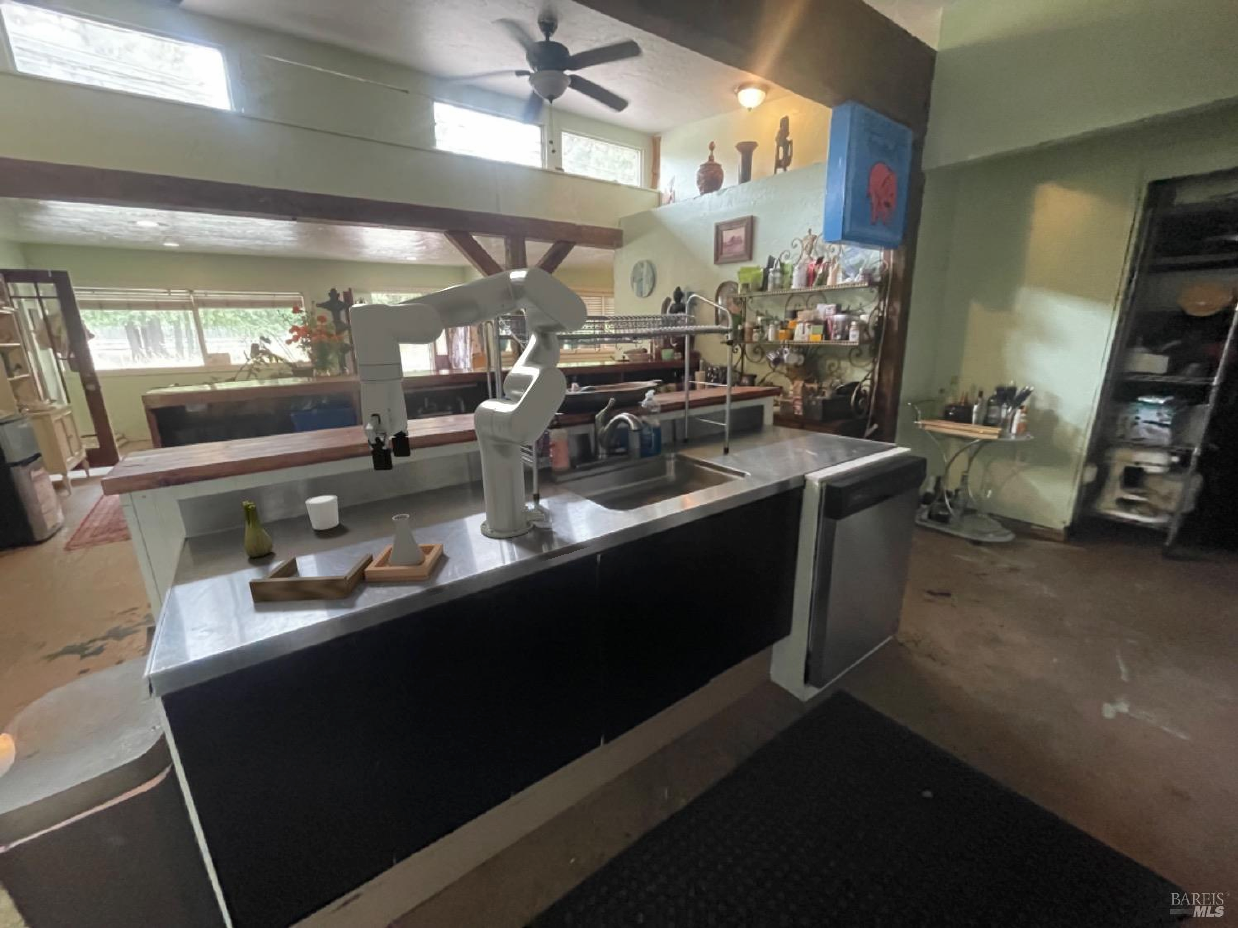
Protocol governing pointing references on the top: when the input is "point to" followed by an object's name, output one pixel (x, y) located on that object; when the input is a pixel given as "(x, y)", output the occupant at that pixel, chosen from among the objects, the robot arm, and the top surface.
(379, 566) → the tray
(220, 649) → the top surface
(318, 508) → the white tapered cylinder
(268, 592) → the bay
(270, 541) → the fennel bulb
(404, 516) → the flask
